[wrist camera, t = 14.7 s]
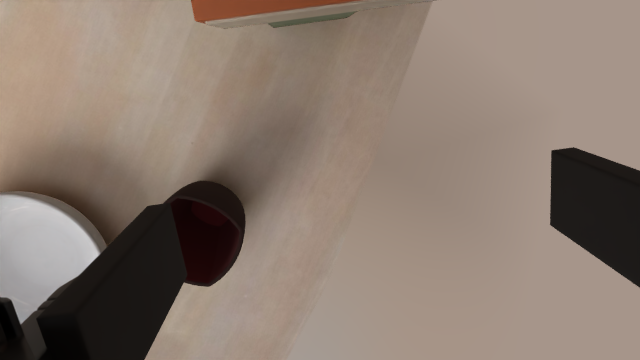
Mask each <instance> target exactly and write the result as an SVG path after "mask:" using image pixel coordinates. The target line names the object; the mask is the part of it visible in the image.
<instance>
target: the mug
mask: <svg viewBox="0 0 640 360" xmlns="http://www.w3.org/2000/svg"><path fill="white" fill-rule="evenodd" d="M166 203H170V205H171V209H172V213H173V217H174V221H175V225H176V230H177V234H178V238H179V242H180V246H181V250H182V255H183V259H184V263H185V267H186V271H187V277H186V279H185V281H184V282H185V283H188V284H192V285H197V286H206V287H209V286H211V285H213V284H214V283H216V282H217V281H219V280H220V279H221V278H222V277H223V276H224V275H225V274H226V273H227V272H228V271H229V270H230V268H231V267H232V266H233V264H234V263H235V261H236V259H237V257H238V255H239V252H240V250H241V247H242V243H243V239H244V233H245V213H244V208H243V205H242V203H241V202H240V200H239V199H238V197H237V196H236V195H235V194H234V193H233V192H232V191H231V190H229V189H228V188H226V187H225V186H223V185H220V184H218V183H214V182H209V181H197V182H194V183H191V184H189V185H187V186H185V187H183V188H181V189H180V190H179V191H177V192H176V193H174V194H173V195H172V196H171V197H170V198H168V199H167V200H166V201H165V202H164V203H163V204H166Z"/></svg>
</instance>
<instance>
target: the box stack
mask: <svg viewBox="0 0 640 360" xmlns="http://www.w3.org/2000/svg"><path fill="white" fill-rule="evenodd" d="M355 12H357V11H354V12H346V13H339V14H331V15H324V16H316V17H309V18H302V19H294V20H287V21H279V22H272V23H268V24H269V25H270V26H272V27H273V28H275V27H282V26H290V25H297V24H304V23H312V22H319V21H326V20H334V19H341V18H347V17H349V16H351V15H352V14H354V13H355Z"/></svg>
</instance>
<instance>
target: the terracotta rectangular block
mask: <svg viewBox="0 0 640 360" xmlns="http://www.w3.org/2000/svg"><path fill="white" fill-rule="evenodd" d="M428 1H435V0H191V3H192V8H193V13H194V18H195V21H197V22H201V23H205V24H207V25H211V26H215V27H219V28H223V29H228V28H235V27H242V26H250V25H257V24H265V23H272V22H279V21H287V20H294V19H302V18H309V17H316V16H324V15H331V14H339V13H346V12H354V11H361V10H368V9H376V8H383V7H391V6H398V5H405V4H413V3H420V2H428Z"/></svg>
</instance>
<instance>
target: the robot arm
mask: <svg viewBox="0 0 640 360" xmlns="http://www.w3.org/2000/svg"><path fill="white" fill-rule="evenodd" d="M551 158H552V159H551V213H550V219H551V220H550V225H551V226H553V227H554V228H555V229H557V230H558V231H560V232H561V233H562V234H564V235H565V236H567V237H568V238H570V239H571V240H572V241H574V242H575V243H577V244H578V245H580V246H581V247H582V248H584V249H586V250H587V251H588V252H590V253H591V254H592V255H594V256H595V257H597V258H598V259H600V260H601V261H602V262H604V263H605V264H607V265H608V266H610V267H611V268H612V269H614V270H615V271H617V272H618V273H620V274H621V275H623V276H624V277H625V278H627V279H628V280H630V281H631V282H633V283H634V284H636V285H637V286H638V287H640V171H639V170H636V169H633V168H630V167H628V166H625V165H622V164H619V163H616V162H613V161H611V160H608V159H605V158H602V157H599V156H596V155H594V154H591V153H588V152H585V151H582V150H580V149H577V148H574V147H573V148H566V149H559V150H552V154H551ZM186 277H187V271H186V267H185V263H184V259H183V255H182V250H181V246H180V242H179V238H178V234H177V230H176V225H175V221H174V217H173V213H172V209H171V205H170V203H166V204H159V205H151V206H147V207H146V208H145V209H144V210H143V211H142V212H141V213H140V214H139V215H138V216H137V217H136V218H135V219H134V220H133V221H132V222H131V223H130V224H129V225H128V226H127V227H126V228H125V229H124V230H123V231H122V232H121V233H120V234H119V235H118V237H117V238H116V239H115V240H114V241H113V242H112V243H111V244H110V245H109V246H108V247H107V248H106V249H105V250H104V251H103V252H102V253H101V254H100V255H99V256H98V257H97V258H96V259H95V260H94V261H93V262H92V263H91V264H90V265H89V266H88V267H87V268H86V269H85V270H84V271H83V272H82V273H81V274H80V275H79V276H78V277H75V278H74V279H72V280H70V281H69V282H67V283H65V284H64V285H62V286H60V287H59V288H58V289H57V290H56V291H55V292H54V293H52V294H51V295H50V296H49V297H48V298H47V301H44V302H43V303H42V304H41V305H40V306H39V307H38V308H37V311H34V312H33V313H32V314H31V315H30V316H29V317H28V318H27V319H26V320H25V321H24V322H23V323H22V324H20V321H19V319H18V316H17V313H16V311H15V308H14V305H13V303H12V300H10V299H9V298H7V297H0V360H144V359H145V357H146V355H147V353H148V351H149V349H150V348H151V346H152V344H153V342H154V340H155V338H156V336H157V334H158V332H159V330H160V328H161V326H162V324H163V322H164V320H165V318H166V316H167V314H168V312H169V310H170V308H171V306H172V304H173V302H174V300H175V298H176V296H177V294H178V293H179V291H180V289H181V287H182V285H183V283H184V281H185V279H186Z"/></svg>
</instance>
